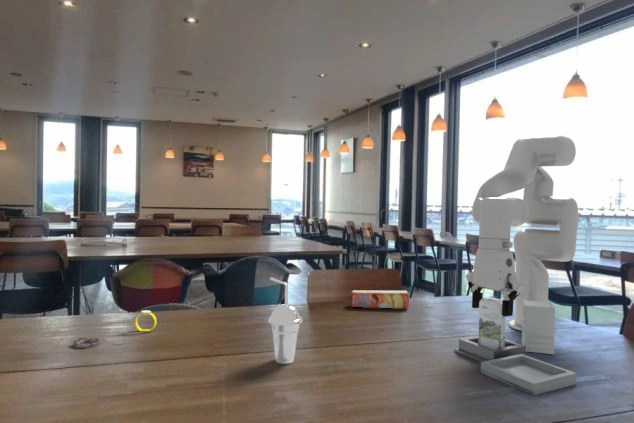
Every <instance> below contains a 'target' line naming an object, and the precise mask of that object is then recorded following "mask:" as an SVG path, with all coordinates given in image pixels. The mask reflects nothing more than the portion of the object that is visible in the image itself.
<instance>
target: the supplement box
mask: <svg viewBox="0 0 634 423" xmlns="http://www.w3.org/2000/svg"><path fill="white" fill-rule="evenodd" d="M555 317H556V308H555V306H554V305H553V304H552V302H550V301H548V302H541V301H528V300H523V320H522V331H521V344H522V345H525V346H526V352H529V353H536V354H537V353H539V354H547V355H548V354H549V355H555V330H556V328H555V327H556V319H555Z"/></svg>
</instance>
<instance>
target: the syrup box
mask: <svg viewBox="0 0 634 423" xmlns="http://www.w3.org/2000/svg"><path fill="white" fill-rule="evenodd" d="M503 300H504V299H497V298H495V299H494V298H487V297H483V299H481V300H480V301H479V308H478V335H477V336H478V344H480V345H483V346H486V347H488V348H491V349H498V348H503V347H505V339H506V322H507V321H506V319H507V318H506V317H507V316H503V315H502V301H503Z"/></svg>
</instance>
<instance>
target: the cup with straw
mask: <svg viewBox="0 0 634 423" xmlns="http://www.w3.org/2000/svg"><path fill="white" fill-rule="evenodd" d="M269 280H270V281H272V282H275V283H279V284H281V285H284V304H279V305H278V306H276V307H275V308H274V309H273V311H272V313H271V315H270V316H269V317H268V320H267V322H268V323H269V324H270V326H271V332H272V337H273V338H272V339H273V346H274V347H273V348H274V349H273V350H274V357H275V362H276V363H278V364H282V365H283V364H284V365H286V364H291V363H294V361H295V360H294V359H295V355H296V348H297V340H298V333H299V329H300V324H302V323H303V322H304V321H303V317H302V316H301V315H300V313H299V311H298V309H297V308H296V307H295V306H294V305H291V304H289V301H288V300H289V295H288V294H289V286H288V283H287V282H285V281H284V280H283V281H282V280H279V279H277V278H275V277H272V276H270V278H269Z"/></svg>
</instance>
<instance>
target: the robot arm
mask: <svg viewBox="0 0 634 423" xmlns="http://www.w3.org/2000/svg"><path fill="white" fill-rule="evenodd" d="M576 150H577V149H576V145H575V142H574V141H573V140H572V139H571V138H570V137H567V136H563V135H561V134H560V135H559V134H544V135H533V136H532V135H530V136H524V137H520V138H518V139H517V140H516V141H514V144H513V145H512V147H511V150H510V153H509V155H508V157H507V161H506V163H505V165H504V169H503V170H501V171H499V172H498V173H496V174H495V175H492V177H490V178H489V179H488V180H486V181H485V182H484V183H483V184H482V185H481V186H480V187H479V189H478V191H477V193H476V196H475V199H474V201H473V205H472V208H471V215H472V219H473V220H474V221H475V222H476V223H478V224H479V226H478V228H479V229H478V230H479V231H478V249H477V250H476V252H475V258H474V263H473V264H474V265H473V271H471V272H468V273H467V274H465V278H466V281H467V285H468V287H469V289H470V290H469V291H470V293H472V295H471V296H472V299H471V308H472V309H479V301H480V300H481V299H483V298H484V296H483V295H484V294H483V292H482V291H483V289H486V290H491V291H496V292H500V294H501V295H502V297H503V299H502V300H503V301H502V315H503V316H506V317H511V316H513V315H514V319H512V320H509V321H508V322H509V323H508V325H509V327H510V328H512V329H514V330H517V331H521V332H522V320H523V300H528V301H541V302H549V280H550V277H549V272H548V270H547V268H546V266H545V265H544V263H542V261H551V262H563V263H564V262H570V261H572V260H573V259H574V257H575V254H576V248H577V237H578V236H577V235H578V224H579V223H578V222H579V207H578V204H577V203H578V202H577V201H576V200H575V199H574V198H573V197H571V196H565V195H562V196H561V195H560V196H559V195H554V179H553V178H552V177H551V175H550V174H549V173H548V172H547V171H546V170H545V169H544V168H543V167H563V166H564V167H565V166H570V165H571V164H572V163H573V162H574V160H575V157H576V154H577V151H576ZM519 190H520V191H521V190H523V199H522V198H515V197H502V196H504V195H507V194H510V193H511V194H512V193H514V192H517V191H519ZM524 224H527V225H531V226H536V227H537V226H538V227H539V226H541V227H542V226H543V227H557V228H559V230H558V229H543V228H524V229H521V230H519V231H518V230H517V231H516V233H515V234H514V236H513V242H511V229H512V228H511V227H519V226H522V225H524ZM512 248H513V249H514V250H513V251H514V254H513V252H512V251H510V249H512ZM514 256H515V258H514ZM555 320H556V316H555Z"/></svg>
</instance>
